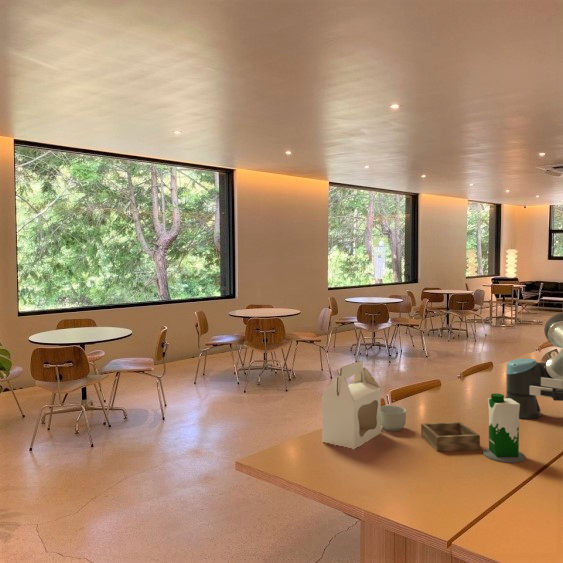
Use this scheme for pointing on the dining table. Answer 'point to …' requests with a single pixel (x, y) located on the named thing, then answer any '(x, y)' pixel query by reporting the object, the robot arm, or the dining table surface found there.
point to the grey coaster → (504, 459)
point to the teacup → (393, 417)
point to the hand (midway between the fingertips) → (535, 385)
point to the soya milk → (503, 426)
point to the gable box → (351, 408)
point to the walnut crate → (450, 436)
